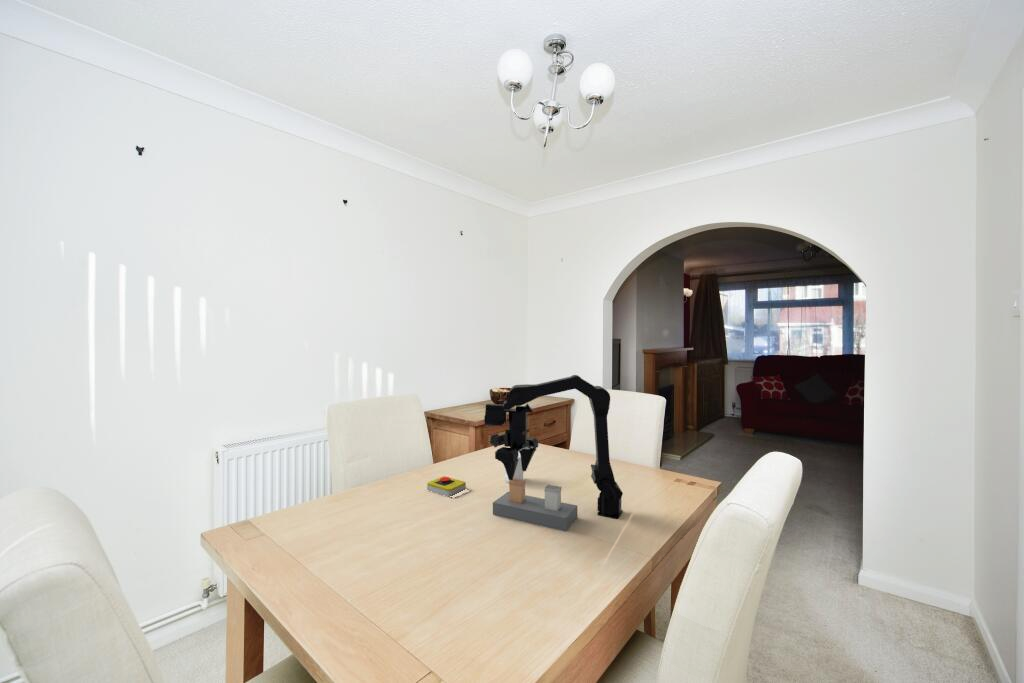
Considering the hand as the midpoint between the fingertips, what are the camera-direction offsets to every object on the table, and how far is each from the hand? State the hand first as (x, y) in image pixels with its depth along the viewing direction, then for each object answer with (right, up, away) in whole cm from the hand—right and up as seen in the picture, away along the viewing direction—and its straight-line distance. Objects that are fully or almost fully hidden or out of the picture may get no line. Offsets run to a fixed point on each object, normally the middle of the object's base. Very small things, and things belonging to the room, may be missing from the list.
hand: (517, 475), depth 137 cm
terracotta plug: (0, -12, 0) cm, 12 cm away
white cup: (-1, -11, +29) cm, 31 cm away
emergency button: (-25, -12, +19) cm, 34 cm away
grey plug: (+11, -12, -5) cm, 17 cm away
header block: (+5, -12, -3) cm, 13 cm away
